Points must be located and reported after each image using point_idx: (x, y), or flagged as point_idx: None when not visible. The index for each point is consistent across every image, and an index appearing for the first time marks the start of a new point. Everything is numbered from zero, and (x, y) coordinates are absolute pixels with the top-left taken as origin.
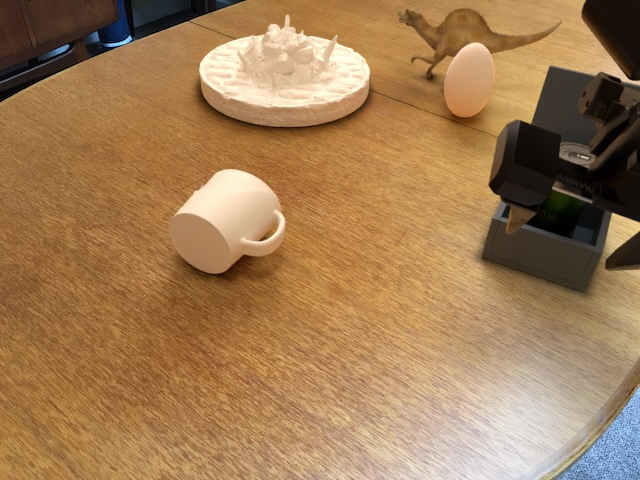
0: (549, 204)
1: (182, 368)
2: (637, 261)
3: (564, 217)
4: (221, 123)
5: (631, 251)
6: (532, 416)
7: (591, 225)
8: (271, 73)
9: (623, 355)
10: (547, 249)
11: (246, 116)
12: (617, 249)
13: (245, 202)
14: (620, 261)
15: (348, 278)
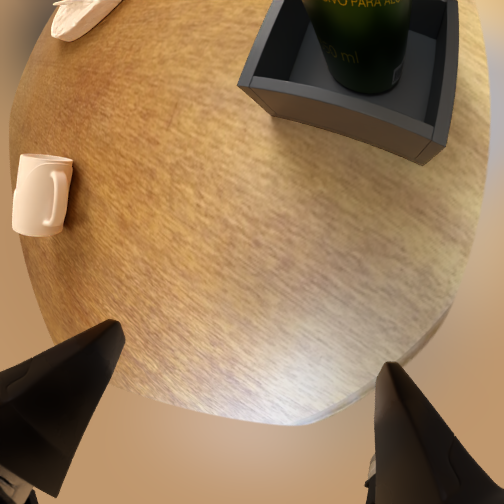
0: (332, 37)
1: (76, 315)
2: (376, 499)
3: (373, 55)
4: (66, 51)
5: (393, 467)
6: (305, 381)
7: (431, 33)
8: (70, 1)
9: (445, 289)
10: (351, 120)
11: (73, 37)
12: (396, 402)
13: (26, 194)
14: (379, 438)
15: (129, 203)
